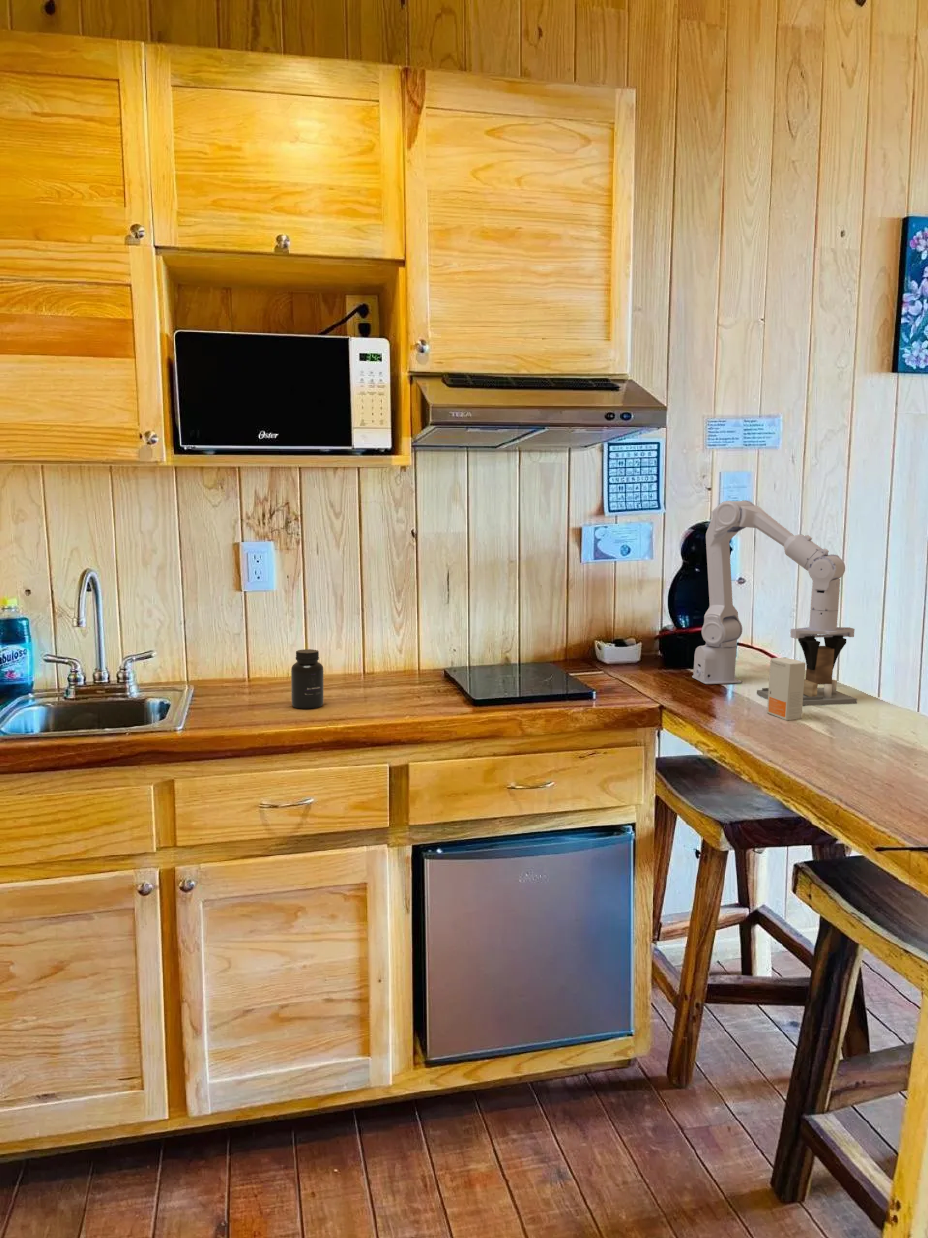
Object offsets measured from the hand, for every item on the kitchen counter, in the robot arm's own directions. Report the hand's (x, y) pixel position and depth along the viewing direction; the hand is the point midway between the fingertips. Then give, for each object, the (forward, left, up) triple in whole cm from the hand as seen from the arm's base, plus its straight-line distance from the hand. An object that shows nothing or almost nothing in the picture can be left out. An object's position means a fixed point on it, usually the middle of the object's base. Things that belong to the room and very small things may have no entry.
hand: (819, 668), depth 195 cm
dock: (-3, 0, -7) cm, 7 cm away
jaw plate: (-4, 0, -6) cm, 7 cm away
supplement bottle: (-114, +11, -7) cm, 115 cm away
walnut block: (0, 0, -3) cm, 3 cm away
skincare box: (-16, -13, -7) cm, 22 cm away
